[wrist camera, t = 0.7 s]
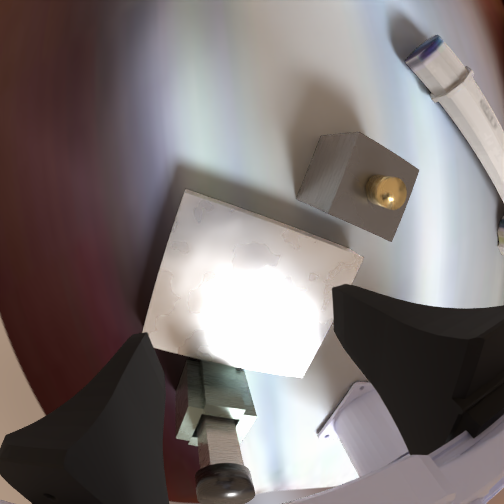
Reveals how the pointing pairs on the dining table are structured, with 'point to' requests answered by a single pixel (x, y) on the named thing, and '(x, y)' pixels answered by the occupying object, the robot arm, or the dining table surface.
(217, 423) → the press ram
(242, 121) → the dining table surface
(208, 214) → the plate
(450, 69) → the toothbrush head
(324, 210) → the housing
